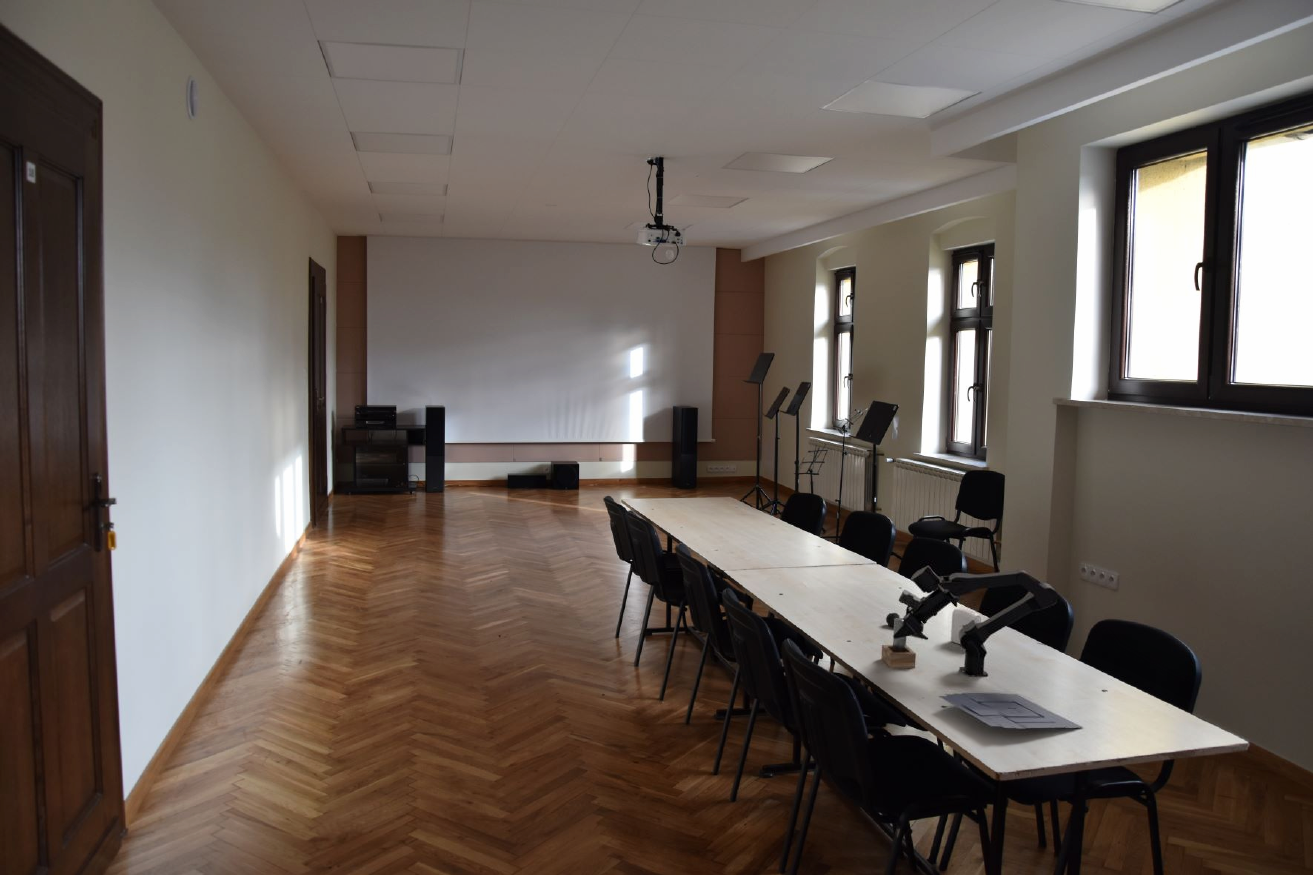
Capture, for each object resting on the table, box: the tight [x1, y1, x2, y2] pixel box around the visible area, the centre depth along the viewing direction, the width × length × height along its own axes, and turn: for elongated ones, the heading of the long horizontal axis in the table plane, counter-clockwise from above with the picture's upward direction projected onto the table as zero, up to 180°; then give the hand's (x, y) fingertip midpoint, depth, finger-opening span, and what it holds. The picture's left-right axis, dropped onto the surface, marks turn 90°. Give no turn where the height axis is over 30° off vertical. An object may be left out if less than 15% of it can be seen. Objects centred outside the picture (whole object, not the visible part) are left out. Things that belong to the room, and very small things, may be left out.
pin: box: [892, 617, 907, 652], centre depth 275 cm, size 4×4×12 cm
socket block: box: [881, 644, 917, 669], centre depth 276 cm, size 8×8×4 cm
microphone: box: [885, 612, 929, 640], centre depth 308 cm, size 5×5×19 cm
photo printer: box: [950, 607, 982, 645], centre depth 295 cm, size 10×4×12 cm, turn 29°
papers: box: [938, 692, 1083, 729], centre depth 236 cm, size 24×30×4 cm
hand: (895, 633), depth 275 cm, fingers open, 9 cm apart
